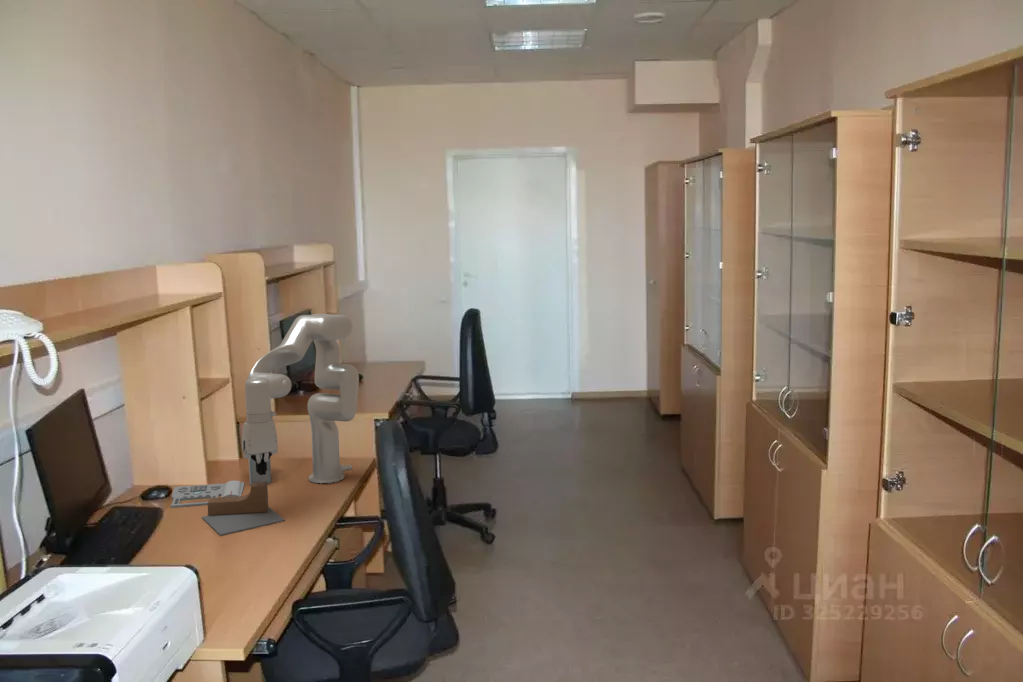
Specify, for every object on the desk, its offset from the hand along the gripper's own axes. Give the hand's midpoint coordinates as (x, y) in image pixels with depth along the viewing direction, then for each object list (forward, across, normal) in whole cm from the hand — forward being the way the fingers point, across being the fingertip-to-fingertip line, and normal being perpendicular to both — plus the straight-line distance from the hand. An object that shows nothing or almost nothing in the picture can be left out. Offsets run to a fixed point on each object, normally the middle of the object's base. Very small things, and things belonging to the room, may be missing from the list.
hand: (261, 473), depth 258 cm
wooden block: (+9, -2, -2) cm, 9 cm away
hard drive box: (+14, -13, -37) cm, 41 cm away
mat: (+14, +6, 0) cm, 15 cm away
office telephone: (+14, +8, -30) cm, 34 cm away
